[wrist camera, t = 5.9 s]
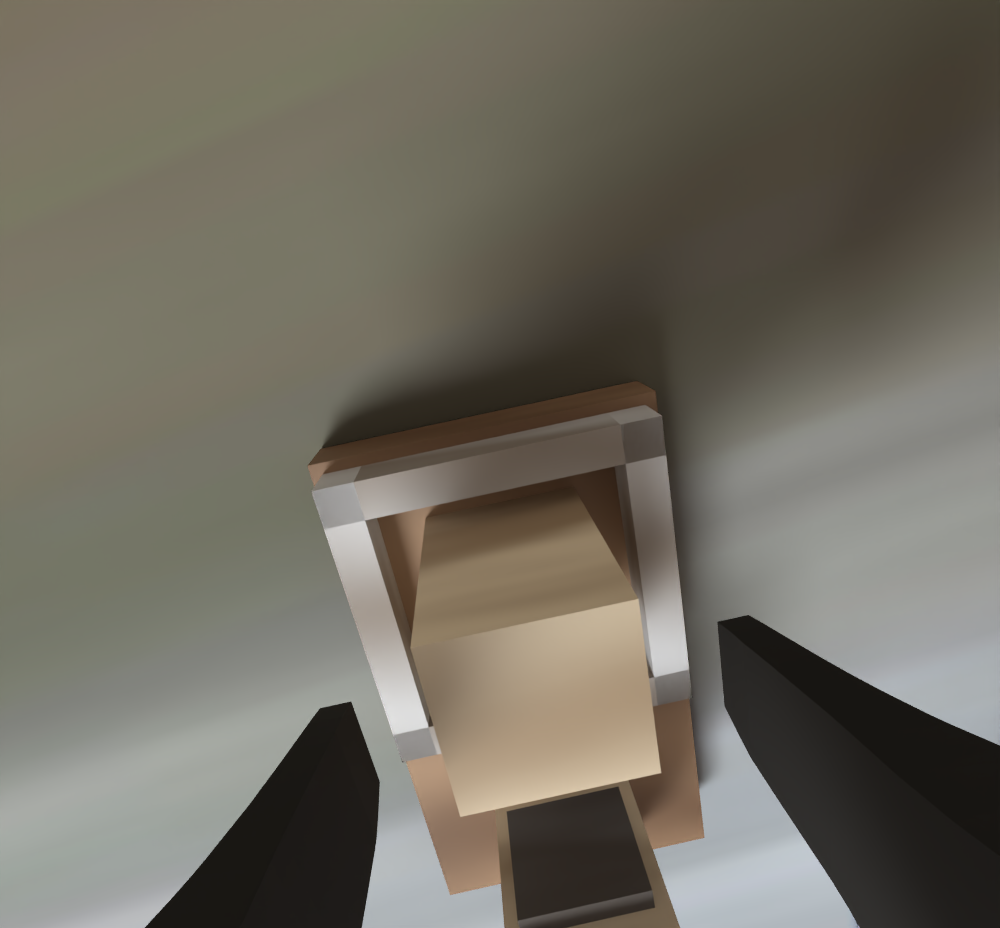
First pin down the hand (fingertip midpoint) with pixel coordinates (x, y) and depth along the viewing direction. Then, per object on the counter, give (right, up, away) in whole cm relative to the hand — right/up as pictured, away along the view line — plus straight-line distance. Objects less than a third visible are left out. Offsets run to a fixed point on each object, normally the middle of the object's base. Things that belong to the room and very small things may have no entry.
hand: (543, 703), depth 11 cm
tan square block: (0, +2, +5) cm, 5 cm away
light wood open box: (0, -1, +7) cm, 7 cm away
